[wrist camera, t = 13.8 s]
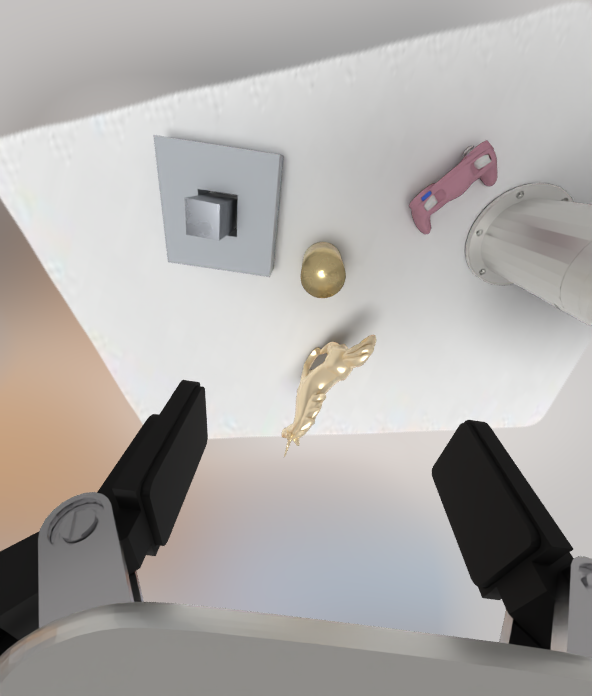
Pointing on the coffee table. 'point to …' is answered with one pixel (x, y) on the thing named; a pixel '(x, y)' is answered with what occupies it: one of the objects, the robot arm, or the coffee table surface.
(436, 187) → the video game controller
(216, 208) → the square bit
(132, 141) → the coffee table surface
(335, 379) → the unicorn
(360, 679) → the robot arm
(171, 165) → the socket block
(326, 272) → the round bit
